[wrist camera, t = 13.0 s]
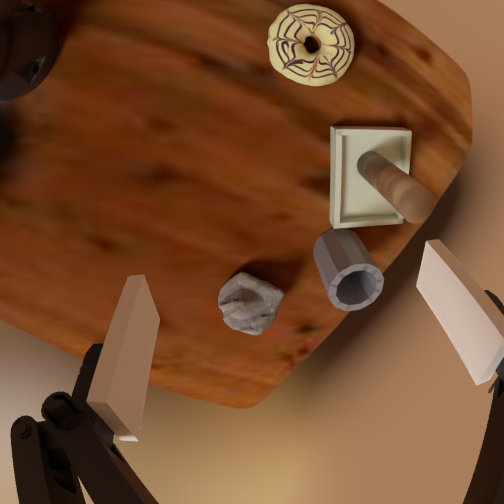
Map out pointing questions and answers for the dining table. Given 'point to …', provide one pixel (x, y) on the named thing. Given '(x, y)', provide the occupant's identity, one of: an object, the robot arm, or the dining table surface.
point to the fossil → (249, 303)
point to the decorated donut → (295, 54)
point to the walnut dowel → (396, 187)
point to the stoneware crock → (347, 269)
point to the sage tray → (353, 184)
